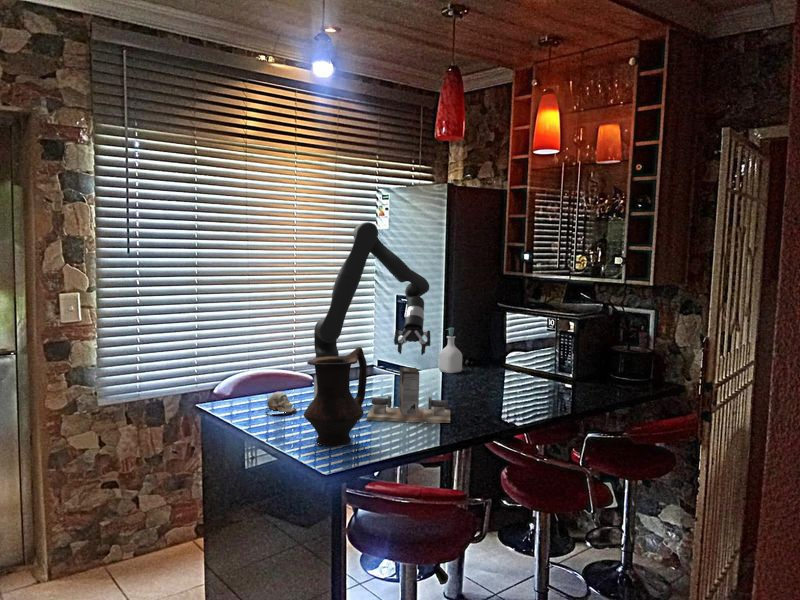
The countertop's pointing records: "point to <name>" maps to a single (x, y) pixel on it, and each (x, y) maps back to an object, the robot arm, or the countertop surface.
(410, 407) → the coffee box
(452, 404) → the countertop surface
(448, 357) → the soap bottle
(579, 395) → the countertop surface
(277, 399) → the skull
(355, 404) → the jug
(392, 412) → the shaft board
